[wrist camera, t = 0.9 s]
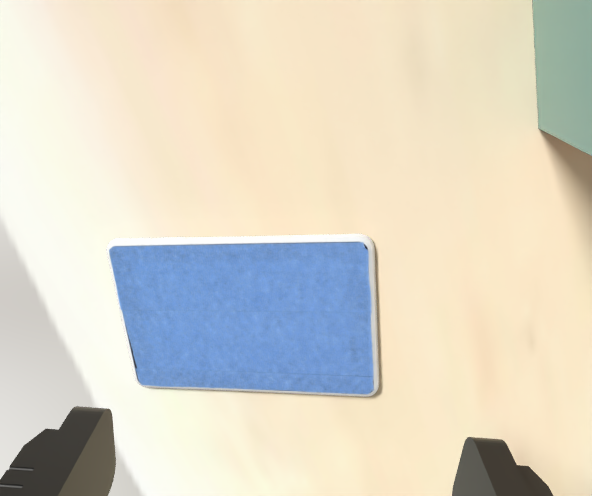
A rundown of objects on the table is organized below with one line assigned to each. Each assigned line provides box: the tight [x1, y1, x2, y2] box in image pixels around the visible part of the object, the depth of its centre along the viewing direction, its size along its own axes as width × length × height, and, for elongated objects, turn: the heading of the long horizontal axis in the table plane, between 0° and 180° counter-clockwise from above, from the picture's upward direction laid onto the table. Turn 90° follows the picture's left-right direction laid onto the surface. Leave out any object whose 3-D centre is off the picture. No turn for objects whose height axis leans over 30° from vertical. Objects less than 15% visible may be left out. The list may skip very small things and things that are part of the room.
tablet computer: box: [106, 234, 379, 397], centre depth 37 cm, size 19×13×1 cm, turn 95°
